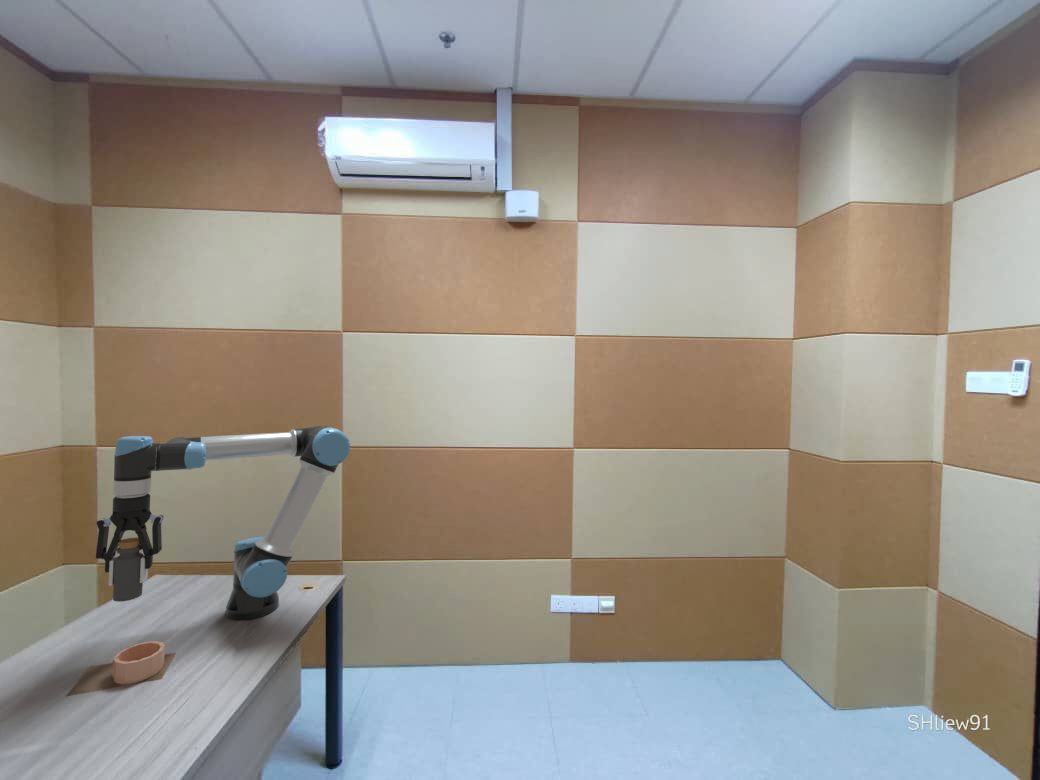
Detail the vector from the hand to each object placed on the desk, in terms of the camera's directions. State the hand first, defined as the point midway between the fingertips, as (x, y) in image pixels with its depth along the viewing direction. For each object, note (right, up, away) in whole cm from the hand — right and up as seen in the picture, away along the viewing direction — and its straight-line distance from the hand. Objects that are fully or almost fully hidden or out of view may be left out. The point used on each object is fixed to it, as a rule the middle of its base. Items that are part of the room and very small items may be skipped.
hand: (128, 582), depth 119 cm
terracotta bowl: (+8, -20, -6) cm, 22 cm away
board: (+5, -21, -6) cm, 22 cm away
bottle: (0, -4, 0) cm, 4 cm away
